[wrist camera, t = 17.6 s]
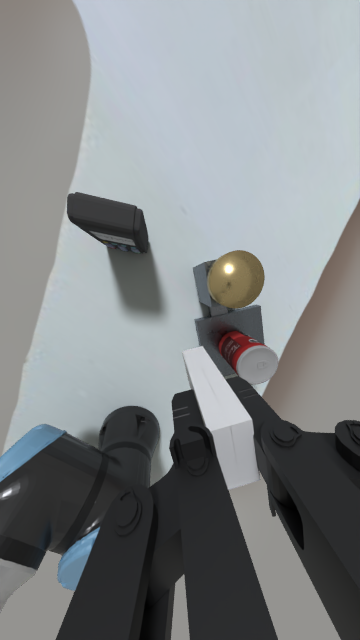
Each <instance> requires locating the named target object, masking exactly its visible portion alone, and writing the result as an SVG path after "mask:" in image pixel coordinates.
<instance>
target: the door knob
mask: <svg viewBox="0 0 360 640" xmlns="http://www.w3.org/2000/svg"><path fill="white" fill-rule="evenodd" d="M263 285H264V270H263V267H262V265H261V263H260V261H259V260H258V259H257V257H255V256H254V255H253V254H251V253H249V252H246V251H242V250H237V251H232V252H229V253H227V254H225V255H223V256H221V257H219V258H218V259H217V260H216V261H215V262H214V263H213V264H212V266H211V267H210V269H209V272H208V275H207V288H208V291H209V293H210V295H211V297H212V298H213V299H214V300H215V301H216V302H217V303H219V304H220V305H223V306H225V307H229V308H242V307H245V306H247V305H249V304H251V303H252V302H253V301H254V300H255V299H256V298H257V297H258V296H259V294H260V293H261V290H262V288H263Z"/></svg>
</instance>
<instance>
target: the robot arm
mask: <svg viewBox="0 0 360 640" xmlns="http://www.w3.org/2000/svg"><path fill="white" fill-rule="evenodd" d="M182 354H183V358H184V362H185V367H186V371H187V375H188V380H189V384H190V388H191V390H188V391H184V392H180V393H177V394H175V395H174V397H173V400H172V411H173V421H174V434H173V436H172V438H171V440H170V447H169V449H170V452H171V456H172V459H173V462H174V463H173V465H172V467H171V469H170V470H169V472H168V473H167V474H166V475H165V476H164V477H163V478H162V479H160V480H159V481H158V482H156V483H155V484H154V485H152V486H151V487H150V470H151V458H152V456H153V453H154V450H155V447H156V445H157V442H158V438H159V424H158V421H157V419H156V417H155V416H154V415H153V414H152V413H151V412H150V411H149V410H147V409H145V408H142V407H138V406H126V407H122V408H119V409H117V410H115V411H113V412H112V413H111V414H109V415H108V416H107V418H106V419H105V421H104V423H103V425H102V428H101V430H100V434H99V450H98V449H96V448H95V447H93V446H91V445H89V444H87V443H85V442H83V441H81V440H79V439H77V438H75V437H73V436H72V435H70V434H68V433H66V431H65V430H64V431H62V430H60V429H57V428H55V427H53V426H50V425H48V424H42V425H38V426H36V427H34V428H33V429H31V430H30V431H29V432H28V433H26V434H25V435H24V436H23V437H22V438H21V439H20V440H18V441H17V442H16V443H15V444H14V445H13V446H12V447H11V448H10V449H9V450H8V451H7V452H5V453H4V454H3V455H2V456H1V457H0V612H1V611H2V609H3V607H4V605H5V603H6V601H7V599H8V598H9V597H10V596H11V595H12V593H13V592H14V591H15V590H17V589H18V588H19V587H20V586H22V585H23V584H24V583H25V582H27V581H28V580H29V579H30V578H31V577H33V576H34V575H35V573H36V571H37V570H38V568H39V566H40V563H41V562H42V559H43V557H44V556H45V553H46V551H47V550H49V551H52V552H55V553H58V554H61V555H62V558H61V560H60V562H59V564H58V565H59V566H58V575H57V576H58V581H59V583H61V584H62V586H63V587H64V588H66V589H70V590H74V591H75V592H74V595H73V597H72V600H71V602H70V605H69V608H68V610H67V613H66V615H65V617H64V620H63V622H62V625H61V628H60V630H59V633H58V635H57V638H56V640H171V629H172V617H173V604H174V591H175V583H176V581H177V580H178V579H179V578H180V577H181V576H182V575H183V574H184V575H185V586H186V598H187V609H188V622H189V633H190V640H278V638H277V635H276V632H275V629H274V626H273V623H272V620H271V617H270V614H269V611H268V608H267V605H266V602H265V599H264V596H263V593H262V590H261V587H260V584H259V581H258V578H257V575H256V572H255V569H254V566H253V563H252V560H251V557H250V554H249V551H248V548H247V545H246V542H245V539H244V536H243V533H242V530H241V527H240V524H239V521H238V518H237V515H236V512H235V509H234V506H233V503H232V500H231V497H230V494H229V491H228V490H230V489H233V488H236V487H239V486H243V485H246V484H249V483H252V482H255V481H259V480H260V474H259V471H260V472H261V474H262V476H263V478H264V480H265V482H266V484H267V490H268V498H269V506H270V510H271V513H272V516H276V512H277V514H278V516H279V518H280V520H281V522H282V524H283V526H284V528H285V530H286V531H287V534H288V536H289V538H290V540H291V542H292V544H293V546H294V548H295V550H296V552H297V553H298V556H299V557H300V559H301V561H302V563H303V565H304V567H305V569H306V571H307V573H308V575H309V577H310V579H311V581H312V583H313V585H314V587H315V589H316V591H317V593H318V595H319V597H320V599H321V601H322V603H323V605H324V607H325V609H326V611H327V613H328V615H329V616H330V618H331V620H332V623H333V625H334V626H335V628H336V630H337V632H338V634H339V636H340V638H341V640H360V422H359V421H355V420H353V421H352V420H344V421H342V422H339V423H338V424H337V425H336V427H335V433H315V432H305V431H302V430H301V429H299V428H298V427H297V426H296V425H294V424H292V423H290V422H288V421H284V420H281V418H280V417H279V416H278V415H277V414H276V413H275V412H274V410H273V409H272V408H271V407H270V406H269V405H268V404H267V403H266V402H265V401H264V399H263V398H262V397H261V396H260V395H259V394H258V393H257V391H256V390H255V389H253V387H252V386H251V385H250V384H249V383H248V381H246V380H244V379H243V378H241V377H239V376H238V377H234V378H230V379H227V380H225V379H224V377H223V376H222V374H221V373H220V371H219V370H218V368H217V367H216V365H215V364H214V362H213V361H212V359H211V358H210V356H209V355H208V353H207V352H206V350H205V349H204V348H203V346H200V347H196V348H192V349H188V350H184V351H182ZM275 510H276V512H275Z"/></svg>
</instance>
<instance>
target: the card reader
mask: <svg viewBox="0 0 360 640" xmlns="http://www.w3.org/2000/svg"><path fill="white" fill-rule="evenodd" d="M67 214H68V218H69V219H70V221H71V222H72V223H74V224H75V225H76V226H78V227H79V228H81V229H82V230H84V231H85V232H87V233H88V234H89V235H91V236H92V237H94V238H95V239H97V240H98V241H100V242H101V243H103V244H104V245H106V246H108V247H109V248H113V249H116V248H118V249H121V250H123V251H133V252H134V253H139V254H140V253H143V252H144V253H146V252H147V247H148V233H147V228H146V224H145V219H144V215H143V211H142V210H141V209H137V207H136V206H134V205H130V204H126V203H122V202H117V201H113V200H109V199H105V198H100V197H96V196H92V195H88V194H83V193H79V192H76V193H75V194H73V193H71V194H69V195H68V197H67Z"/></svg>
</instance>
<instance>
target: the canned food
mask: <svg viewBox="0 0 360 640" xmlns="http://www.w3.org/2000/svg"><path fill="white" fill-rule="evenodd" d="M219 352H220V354H221V356H222V357H223V358H224V359H225V360H226V362H227V363H228V364H229V365H230V366H231V368H232V369H233V370H234V371H235V372H236V373H237V375H238V376H239V377H241V378H243V379H244V380H246V381H248V383H249V384H260V383H263V382H265V381H267V380H269V379H270V378H271V377H272V376H273V375H274V373H275V372H276V370H277V367H278V357H277V355H276V353H275V352H274V351H273V350H272V349H270V348H269V347H267V346H266V345H264V344H262V343H260V342H259V341H257V340H255V339H253V338H252V337H250V336H248V335H247V334H245V333H243V332H240V331H232V332H229V333H227V334H225V335H224V336H223V337H222V338H221V340H220V342H219Z"/></svg>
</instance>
